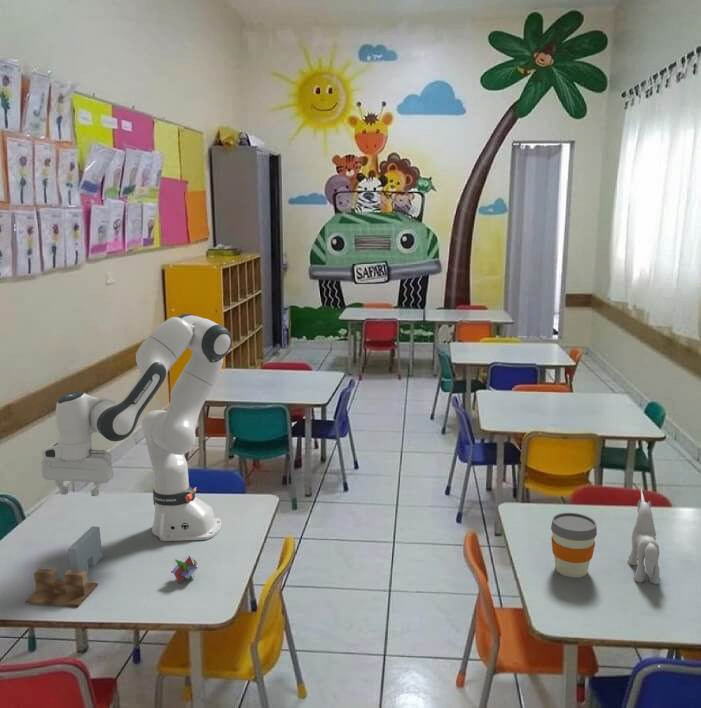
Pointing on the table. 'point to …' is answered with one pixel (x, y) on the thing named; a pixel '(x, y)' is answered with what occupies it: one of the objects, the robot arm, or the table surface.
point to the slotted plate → (86, 550)
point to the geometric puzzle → (184, 569)
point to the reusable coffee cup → (573, 543)
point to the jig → (61, 588)
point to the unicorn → (645, 544)
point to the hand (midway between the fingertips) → (79, 494)
